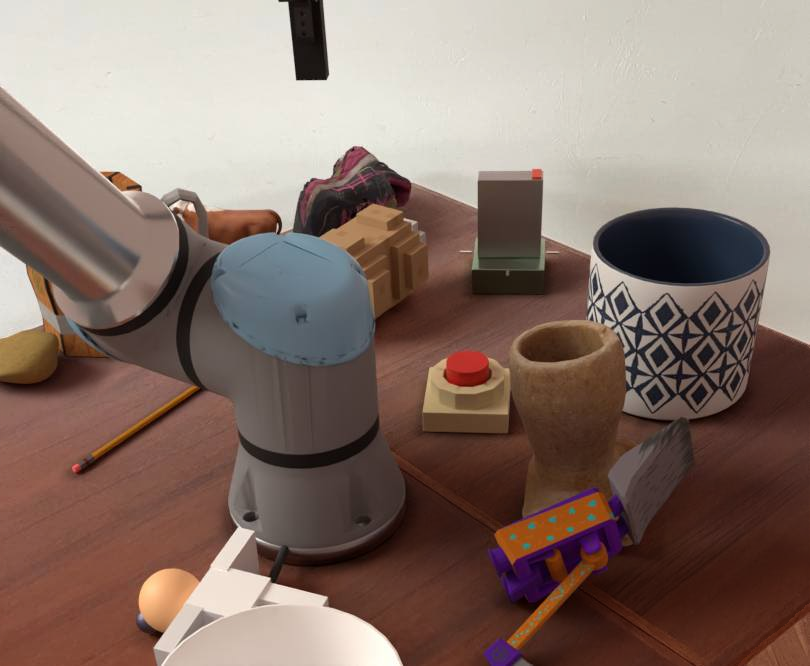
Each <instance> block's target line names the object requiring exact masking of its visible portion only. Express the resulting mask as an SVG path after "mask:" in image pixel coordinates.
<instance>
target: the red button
mask: <svg viewBox="0 0 810 666" xmlns="http://www.w3.org/2000/svg"><path fill="white" fill-rule="evenodd" d="M487 357H488V356H487V355H486V354H484V353H482V352H480V351H475V350H461V351H460V350H459V351H456V352H453V353H452V354H450V355H449V356H448V357H447V358H448V359H447V361H446V376H447V380H448V382H449V383H450V384H453V385H456V386H459V387H475V386H478V385H482V384H485V383H486V382H487V381H488V378H489V360H488V358H489V357H488V358H487Z"/></svg>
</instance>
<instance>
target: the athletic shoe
mask: <svg viewBox="0 0 810 666" xmlns="http://www.w3.org/2000/svg"><path fill="white" fill-rule="evenodd" d="M302 188H303V189H302V190H300V192H299V194H298V195H299V196H298V198H297V203H296V204H297V205H296V208H295V214H294V220H293V225H292V233H300V234H306V235H311V236H315V237H318V238H319V237H321V236H322V235H324V234H325V233H327V232H329V231H330V230H332V229H338V228H339V227H341V226H342V225H344V224H345V223H347V222H349V221H350V220H352V219H353V218H355V217H356V214H357V213H359V212H360V211H362V210H364V209H365V208H367V207H368V206H370V205H372V204H376V205H380V206H384V207H388V208H392V209H396V210H397V209H398V208H401V207H404V206H406V205H407V204H408V202H410V197H411V192H412V182H411V181H410V180H409V179H408V177H405V176H402V175H400V174H399V173H398V172H397V171H396V170H394V169H392V168H390V167H389V165H388V164H386V163H385V162H383V161H380V159H378V158H377V157H376V156H375V155H374V154H373V153H372V152H370V151H369V150H368V149H366V148H365V147H364V146H360V145H353V146H352V147H350V148H349V149H347V150H346V151H345V153H344V154H343V155H342V156H341V157H339V158H337V159H336V162H335V163H334V165H333V168H332V175H330V177H328V178H325V179H323V178H322V179H321V178H317V177H311V178H310V179H309V181H308V180H307V181H306V182H305V183H304V184H303V187H302Z"/></svg>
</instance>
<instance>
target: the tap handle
mask: <svg viewBox="0 0 810 666" xmlns="http://www.w3.org/2000/svg"><path fill="white" fill-rule="evenodd" d="M542 169H543V168H532V169H531V170H478V174H477V237H478V257H525V258H540V255H541V238H542V228H543V227H542V226H543V201H544V200H543V199H544V170H542Z"/></svg>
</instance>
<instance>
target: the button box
mask: <svg viewBox="0 0 810 666" xmlns="http://www.w3.org/2000/svg"><path fill="white" fill-rule="evenodd" d="M486 357H487V358H488V360H489V378H488V381H487V382H486V383H485V384H482V385H478V386H475V387H459V386H456V385H453V384H450V383H449V382H448V380H447V376H446V361H447V359H448V357H446V358H443V359H441V360H440V361H439V362H438V363H436V364H435V365H434V366H430V367H429V370H428V376H427V381H426V386H425V387H426V388H425V393H424V399H423V404H422V405H423V406H422V412H421V415H422V417H421V419H422V431H423V432H428V433H429V432H430V433H431V432H435V433H436V432H437V433H469V434H470V433H471V434H472V433H473V434H474V433H476V434H509V424H510V423H509V422H510V406H511V405H510V404H511V387H510V372H509V367H508V368H507V367H503V366H502V365H501V364H500V363H499V362H498V361H497V360H496V359H494V358H491V357H488V356H486Z"/></svg>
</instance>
